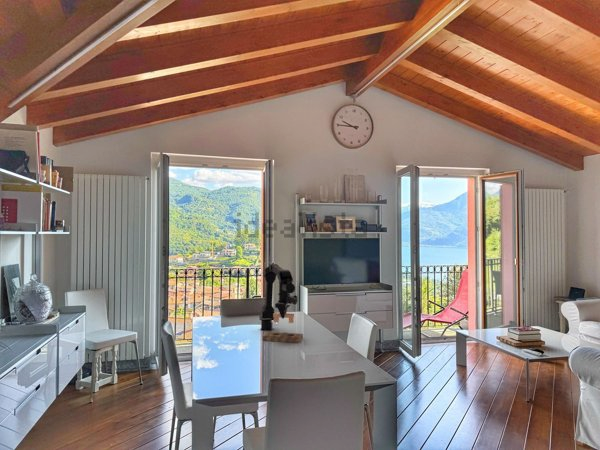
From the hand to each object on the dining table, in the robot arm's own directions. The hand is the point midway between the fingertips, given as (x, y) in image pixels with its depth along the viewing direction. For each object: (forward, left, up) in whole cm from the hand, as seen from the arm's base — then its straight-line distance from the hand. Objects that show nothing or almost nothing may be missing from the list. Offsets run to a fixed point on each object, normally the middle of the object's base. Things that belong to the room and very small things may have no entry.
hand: (283, 318), depth 239 cm
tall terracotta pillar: (0, 0, -3) cm, 3 cm away
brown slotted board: (0, 0, -13) cm, 13 cm away
